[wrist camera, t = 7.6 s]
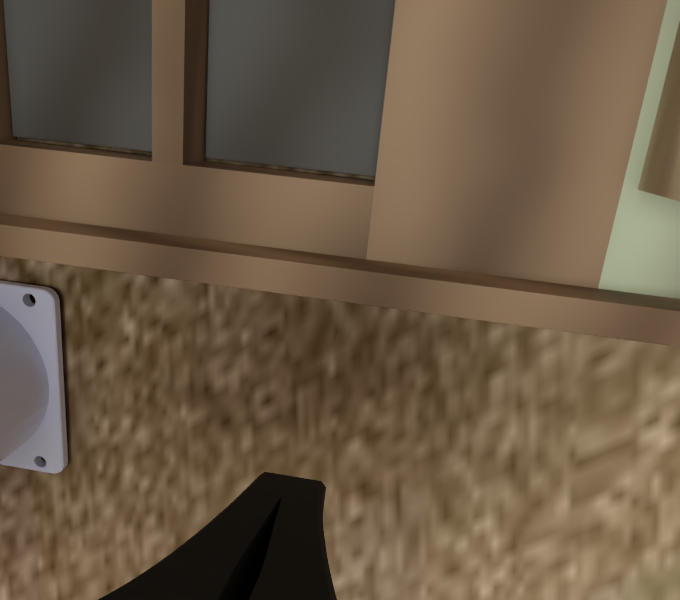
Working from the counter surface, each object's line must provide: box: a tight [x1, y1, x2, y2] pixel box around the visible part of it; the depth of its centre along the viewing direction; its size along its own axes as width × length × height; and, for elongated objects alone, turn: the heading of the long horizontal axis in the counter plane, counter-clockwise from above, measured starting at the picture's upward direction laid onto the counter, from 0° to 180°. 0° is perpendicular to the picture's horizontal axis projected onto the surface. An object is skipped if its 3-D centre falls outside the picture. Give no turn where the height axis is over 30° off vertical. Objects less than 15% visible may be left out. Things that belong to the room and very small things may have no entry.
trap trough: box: [0, 0, 680, 347], centre depth 16 cm, size 28×13×4 cm, turn 85°
